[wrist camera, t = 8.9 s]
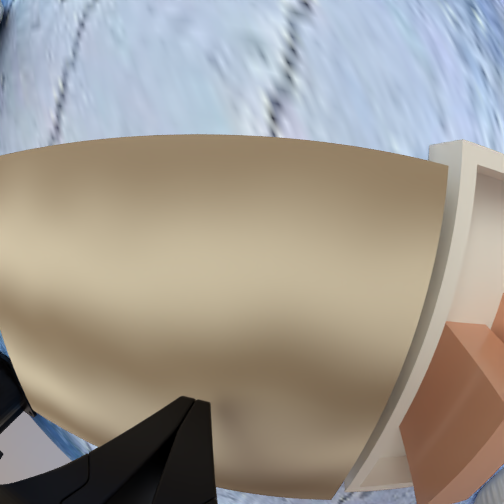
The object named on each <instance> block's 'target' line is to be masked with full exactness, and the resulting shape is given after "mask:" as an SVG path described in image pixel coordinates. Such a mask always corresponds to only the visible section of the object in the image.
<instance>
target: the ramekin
mask: <svg viewBox="0 0 504 504" xmlns="http://www.w3.org/2000/svg"><path fill="white" fill-rule="evenodd" d="M474 504H504V468H503V469H501V470H500V471H499V472H498V473H497V474H496V475H494V476H493V477H492V478H491V479H490V480H489V481H488V482H487V483H486V484H485V485H484V486H483V487H482V489H481V490H480V491H479V493H478V495H477V497H476V499H475V502H474Z"/></svg>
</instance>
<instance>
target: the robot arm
mask: <svg viewBox="0 0 504 504" xmlns="http://www.w3.org/2000/svg"><path fill="white" fill-rule="evenodd" d="M23 411H25V412H26V413H27V414H29V415H30V416H32V417H35V416H36V415H37V413H36V412H35V411H33V409H32V407H31V405H30V403H29V401H28V399H27V397H26V395H25V393H24V391H23V388H22V386H21V384H20V382H19V379H18V377H17V374H16V372H15V370H14V367H13V364H12V362H11V360H10V359H9V358H7V357H6V356H4V355H3V354H1V353H0V434H1V433H2V432H3V431H4V430H5V429H6V428H7V427H8V426H9V425H10V424H11V423H12V422H13V421H14V420H15V419H16V418H17V417H18V416H19V415H20V414H21V413H22V412H23ZM2 456H3V453H2V452H1V451H0V459H1V457H2ZM0 504H218V503H217V494H216V482H215V469H214V454H213V438H212V419H211V403H210V402H209V401H204V400H200V399H197V400H196V399H194V398H191V397H187V396H180V397H179V398H177V399H176V400H174V401H173V402H171V403H170V404H168V405H167V406H165V407H163V408H162V409H160V410H159V411H157V412H156V413H154V414H153V415H151V416H150V417H148V418H146V419H145V420H143V421H142V422H140V423H138V424H137V425H135V426H134V427H132V428H130V429H129V430H127V431H125V432H124V433H122V434H120V435H119V436H117V437H115V438H114V439H112V440H110V441H108V442H107V443H105V444H103V445H102V446H100V447H98V448H96V449H94V450H93V451H91V452H89V454H85V455H83V456H82V457H80V458H78V459H76V460H74V461H72V462H70V463H68V464H66V465H64V466H61V467H59V468H57V469H54V470H51V471H49V472H46V473H43V474H40V475H37V476H34V477H31V478H28V479H24V480H21V481H18V482H14V483H10V484H3V485H0Z"/></svg>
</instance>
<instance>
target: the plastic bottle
mask: <svg viewBox="0 0 504 504" xmlns="http://www.w3.org/2000/svg"><path fill="white" fill-rule="evenodd" d="M3 13H4V7H3V4H2V2H1V0H0V23H1V20H2V17H3Z"/></svg>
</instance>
